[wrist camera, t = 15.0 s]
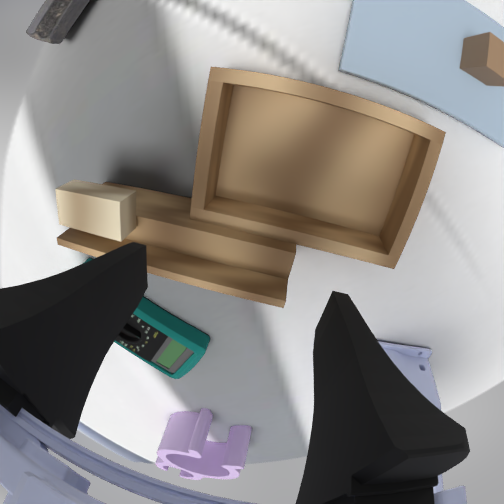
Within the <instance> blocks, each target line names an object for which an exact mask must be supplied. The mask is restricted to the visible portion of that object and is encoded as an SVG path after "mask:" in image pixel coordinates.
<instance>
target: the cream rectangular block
mask: <svg viewBox="0 0 504 504" xmlns="http://www.w3.org/2000/svg"><path fill="white" fill-rule="evenodd" d="M56 199H57V208H58V217H59V224H60V225H63V226H67V227H70V228H74V229H77V230H81V231H84V232H88V233H91V234H95V235H99V236H102V237H106V238H109V239H113V240H117V241H120V242H121V241H123V240H124V239H125V238H126V237H127V236H128V235H129V234H130V233H131V232H132V231H133V230H134V229H136V191H135V190H129V189H124V188H119V187H113V186H108V185H102V184H97V183H91V182H85V181H79V180H72V181H70V182H68V183H66V184H64V185H62V186H60V187H58V188H56Z"/></svg>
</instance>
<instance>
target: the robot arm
mask: <svg viewBox="0 0 504 504" xmlns="http://www.w3.org/2000/svg"><path fill="white" fill-rule="evenodd" d="M147 287H148V284H147V252H146V245H143V244H139V243H136V242H131V243H128V244H126V245H123V246H121V247H119V248H117V249H114V250H112V251H110V252H108V253H106V254H104V255H101V256H99V257H97V258H95V259H93V260H91V261H88V262H86V263H84V264H81V265H79V266H77V267H74V268H72V269H70V270H67V271H65V272H62V273H59V274H57V275H54V276H51V277H48V278H45V279H42V280H38V281H34V282H30V283H26V284H23V285H18V286H13V287H8V288H2V289H0V484H1V485H2V486H3V487H4V488H5V489H6V490H7V491H8V494H7V496H6V498H5V500H4V503H3V504H106V503H103V502H101V501H99V500H97V499H95V498H93V497H91V496H89V495H88V494H87V490H88V488H89V486H90V482H89V481H88V480H87V479H85V478H84V477H82V476H80V475H79V474H77V473H76V472H74V471H73V470H72V469H71V468H69V466H67V465H66V464H64V463H63V462H61V461H60V460H58V459H56V458H55V457H54V456H52V455H51V454H49V453H48V449H50V450H52V451H53V452H55V453H56V454H58V455H60V456H61V457H63V458H64V459H66V460H68V461H69V462H71V463H73V464H75V465H76V466H78V467H80V468H82V469H84V470H86V471H87V472H89V473H91V474H93V475H95V476H97V477H99V478H101V479H103V480H105V481H108V482H110V483H112V484H114V485H116V486H118V487H121V488H123V489H125V490H128V491H130V492H133V493H135V494H138V495H140V496H143V497H146V498H148V499H151V500H154V501H156V502H160V503H163V504H256V503H249V502H243V501H238V500H232V499H227V498H222V497H217V496H213V495H209V494H205V493H201V492H197V491H193V490H190V489H186V488H182V487H179V486H176V485H172V484H170V483H167V482H163V481H160V480H158V479H155V478H152V477H149V476H147V475H144V474H141V473H139V472H136V471H134V470H131V469H129V468H127V467H124V466H122V465H120V464H117V463H115V462H113V461H111V460H108V459H107V458H104V457H102V456H100V455H98V454H96V453H94V452H92V451H90V450H88V449H87V448H85V447H83V446H81V445H79V444H77V443H76V442H73V441H72V440H70V439H71V438H74V437H75V435H76V431H77V427H78V424H79V420H80V417H81V413H82V410H83V407H84V404H85V402H86V399H87V396H88V393H89V391H90V388H91V386H92V384H93V381H94V379H95V376H96V374H97V372H98V370H99V368H100V366H101V364H102V361H103V359H104V357H105V355H106V354H107V352H108V350H109V348H110V347H111V345H112V344H113V342H114V341H115V339H116V338H117V336H118V335H119V333H120V332H121V330H122V329H123V327H124V326H125V325H126V323H127V322H128V320H129V319H130V317H131V316H132V314H133V313H134V311H135V310H136V308H137V307H138V305H139V303H140V301H141V299H142V297H143V295H144V293H145V291H146V289H147ZM431 354H432V351H431V349H427V348H420V347H413V346H406V345H399V344H393V343H386V342H380V341H377V339H376V338H375V336H374V335H373V333H372V332H371V330H370V329H369V327H368V326H367V324H366V322H365V321H364V319H363V318H362V316H361V314H360V313H359V311H358V309H357V308H356V306H355V305H354V303H353V301H352V300H351V298H350V297H349V295H348V294H344V293H339V292H335V291H332V294H331V296H330V298H329V301H328V303H327V305H326V307H325V310H324V312H323V314H322V316H321V318H320V321H319V323H318V325H317V327H316V329H315V338H314V349H313V366H314V414H313V422H312V430H311V437H310V443H309V450H308V455H307V460H306V465H305V470H304V475H303V479H302V483H301V486H300V491H299V494H298V498H297V501H296V504H467V500H466V490H465V486H464V485H462V486H459V487H455V488H451V489H448V490H443V479H442V473H444V472H446V471H447V470H449V469H450V468H452V467H454V466H456V465H457V464H459V463H460V462H462V461H463V460H464V459H465V458H466V457H467V456H468V454H469V452H470V449H469V444H468V439H467V435H466V430H465V428H464V427H462V426H461V425H460V424H458V423H456V422H455V421H454V420H453V419H451V418H450V417H448V416H447V415H445V414H444V413H443V412H442V411H441V403H440V398H439V395H438V391H437V387H436V384H435V380H434V377H433V374H432V370H431V367H430V364H429V361H428V358H429V357H430V355H431ZM47 448H48V449H47Z"/></svg>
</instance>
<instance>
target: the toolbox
mask: <svg viewBox="0 0 504 504" xmlns="http://www.w3.org/2000/svg"><path fill="white" fill-rule="evenodd" d="M445 133H446V132H444V131H442V130H440V129H438V128H436V127H434V126H431V125H429V124H427V123H425V122H423V121H420V120H418V119H416V118H414V117H411V116H409V115H406V114H404V113H401V112H399V111H396V110H394V109H391V108H389V107H386V106H383V105H381V104H378V103H375V102H372V101H369V100H366V99H363V98H360V97H357V96H354V95H351V94H348V93H344V92H341V91H338V90H334V89H330V88H327V87H323V86H319V85H315V84H311V83H307V82H303V81H299V80H294V79H289V78H285V77H280V76H274V75H269V74H263V73H257V72H251V71H244V70H236V69H228V68H219V67H211V69H210V74H209V80H208V85H207V91H206V97H205V103H204V109H203V115H202V122H201V129H200V136H199V143H198V150H197V158H196V166H195V174H194V183H193V192H192V198H188V197H183V196H178V195H174V194H169V193H163V192H158V191H153V190H148V189H143V188H137V187H132V186H127V185H121V184H116V183H110V182H105V183H103V184H102V185H108V186H113V187H119V188H124V189H129V190H135V191H136V229H134V230H133V231H132V232H131V233H130V234H129V235H128V236H127V237H126V238H125V239H124V240H123V241H121V242H120V241H117V240H113V239H109V238H106V237H102V236H99V235H95V234H91V233H88V232H84V231H81V230H77V229H74V228H69V229H68V230H67V231H65V232H64V233H63V234H61V235H60V236H59V237H57V242H58V245H61V246H64V247H67V248H70V249H73V250H76V251H79V252H82V253H85V254H89V255H92V256H95V257H99V256H101V255H104V254H106V253H108V252H110V251H112V250H114V249H117V248H119V247H121V246H123V245H126V244H128V243H131V242H136V243H139V244H143V245H146V252H147V273H151V274H154V275H158V276H161V277H165V278H168V279H172V280H175V281H179V282H183V283H186V284H190V285H194V286H197V287H201V288H205V289H209V290H212V291H216V292H220V293H224V294H228V295H232V296H236V297H240V298H244V299H248V300H252V301H256V302H260V303H265V304H269V305H273V306H277V307H282V308H284V305H285V302H286V293H287V283H288V277H289V274H290V271H291V268H292V264H293V261H294V258H295V255H296V244H297V245H301V246H306V247H310V248H314V249H318V250H322V251H326V252H330V253H334V254H338V255H342V256H346V257H350V258H353V259H357V260H361V261H365V262H369V263H373V264H377V265H381V266H384V267H388V268H392V269H394V268H395V266H396V264H397V262H398V260H399V258H400V255H401V253H402V251H403V249H404V247H405V244H406V242H407V240H408V238H409V235H410V233H411V231H412V228H413V226H414V223H415V221H416V219H417V216H418V214H419V211H420V208H421V206H422V203H423V201H424V198H425V195H426V193H427V190H428V187H429V184H430V181H431V178H432V175H433V173H434V170H435V166H436V163H437V160H438V157H439V154H440V150H441V147H442V144H443V140H444V137H445Z"/></svg>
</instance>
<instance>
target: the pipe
mask: <svg viewBox="0 0 504 504" xmlns="http://www.w3.org/2000/svg"><path fill="white" fill-rule="evenodd" d="M89 1H90V0H46V1H45V2H44V4H43V5H42V7H41V8H40V10H39V11H38V13H37V14H36V16H35V18H34V19H33V21H32V22H31V24H30V26H29V28H28V29H27V31H26V33H27V34H28V35H29V36H31V37H33V38H35V39H37V40H40V41H44V42H49V43H51V44H60V43H61V42H62V41H63V39H64V37H65V36H66V34H67V33H68V31H69V30H70V28H71V27H72V25H73V24H74V23H75V21H76V20H77V18H78V17H79V15H80V14H81V12H82V11H83V9H84V8H85V7H86V5H87V4H88V2H89Z"/></svg>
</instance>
